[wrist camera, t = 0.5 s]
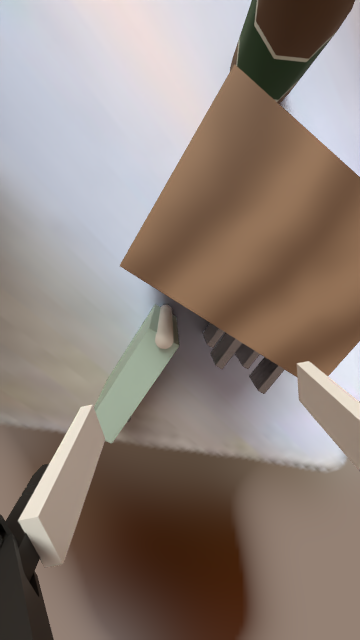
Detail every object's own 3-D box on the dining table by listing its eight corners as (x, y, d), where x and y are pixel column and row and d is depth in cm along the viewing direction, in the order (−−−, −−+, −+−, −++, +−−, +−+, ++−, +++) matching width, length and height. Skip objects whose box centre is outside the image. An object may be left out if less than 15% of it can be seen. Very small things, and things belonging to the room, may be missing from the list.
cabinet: (147, 255, 36) (119, 265, 16) (194, 176, 33) (234, 64, 13) (240, 316, 39) (316, 389, 19) (289, 249, 36) (440, 250, 16)
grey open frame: (202, 333, 40) (216, 367, 28) (223, 303, 38) (246, 326, 27) (238, 355, 41) (265, 396, 30) (260, 327, 40) (297, 359, 28)
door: (107, 380, 42) (80, 436, 29) (158, 298, 38) (153, 323, 25) (133, 393, 43) (118, 453, 30) (185, 315, 39) (193, 347, 26)
